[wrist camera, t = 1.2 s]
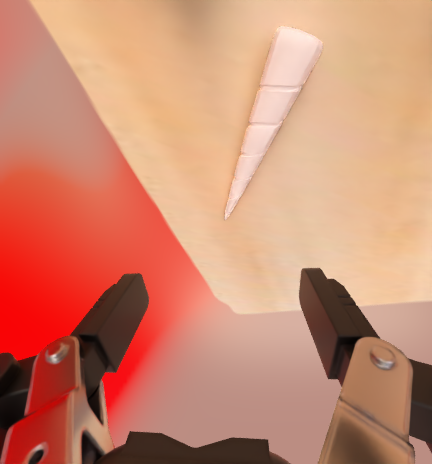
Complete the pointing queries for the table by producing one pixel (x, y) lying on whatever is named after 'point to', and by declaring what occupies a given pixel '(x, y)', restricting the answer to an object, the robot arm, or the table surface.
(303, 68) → the unicorn horn
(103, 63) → the table surface
